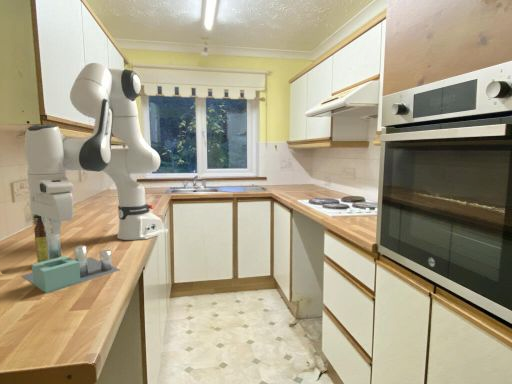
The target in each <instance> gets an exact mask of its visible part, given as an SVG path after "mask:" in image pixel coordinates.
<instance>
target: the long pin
mask: <svg viewBox="0 0 512 384" xmlns="http://www.w3.org/2000/svg"><path fill="white" fill-rule="evenodd" d="M44 219H45V229H46V239H47V249H48V258H49V259H54V258H59V257H62V245H61V237H60V234H61V233H60V234H57V235H54V234H52V233H51V228H52V223H51V219H48V218H45V217H44Z"/></svg>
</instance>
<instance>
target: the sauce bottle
mask: <svg viewBox="0 0 512 384" xmlns="http://www.w3.org/2000/svg"><path fill="white" fill-rule="evenodd" d="M36 220H37V222H36V224H35V226H34V229H33V230H34V231H33V232H34V240H35V242H34V243H35V249H36V258H37V263H39V262H43V261H47V260H51V259H49V258H48V249H47V239H46V231H45V229H44V224H43V222H42V219H41V216H39V215H36ZM54 259H55V258H54Z"/></svg>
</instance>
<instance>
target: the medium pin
mask: <svg viewBox="0 0 512 384" xmlns="http://www.w3.org/2000/svg"><path fill="white" fill-rule="evenodd" d="M73 252H74V253H73V254H74V260H76V261H78V262H79V266H80V278H82V277H86V276H88V263H87V258H88V254H87V253H88V252H87V245H84V244H83V245H78V246H74V247H73Z"/></svg>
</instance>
